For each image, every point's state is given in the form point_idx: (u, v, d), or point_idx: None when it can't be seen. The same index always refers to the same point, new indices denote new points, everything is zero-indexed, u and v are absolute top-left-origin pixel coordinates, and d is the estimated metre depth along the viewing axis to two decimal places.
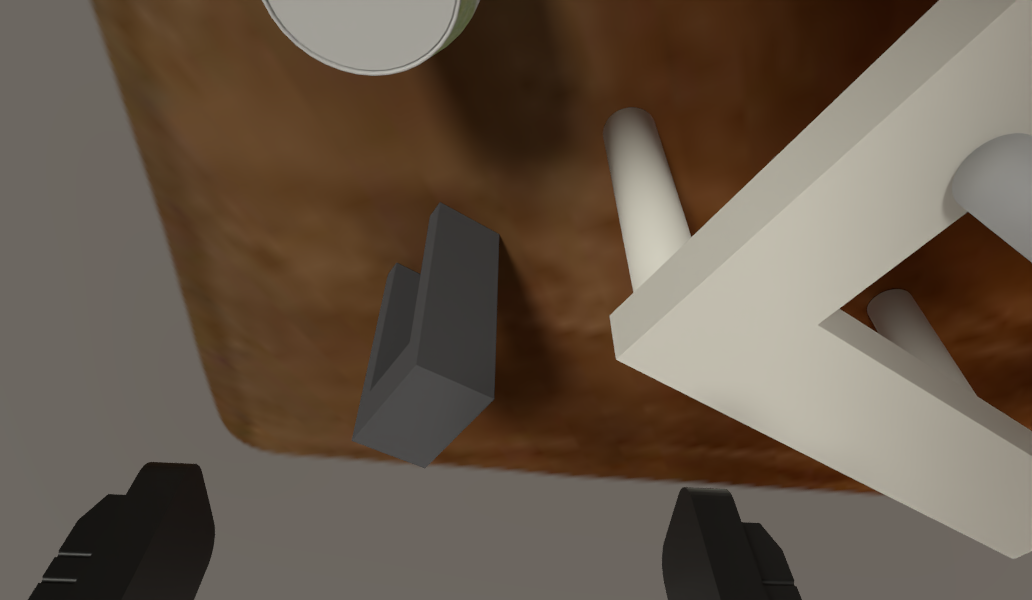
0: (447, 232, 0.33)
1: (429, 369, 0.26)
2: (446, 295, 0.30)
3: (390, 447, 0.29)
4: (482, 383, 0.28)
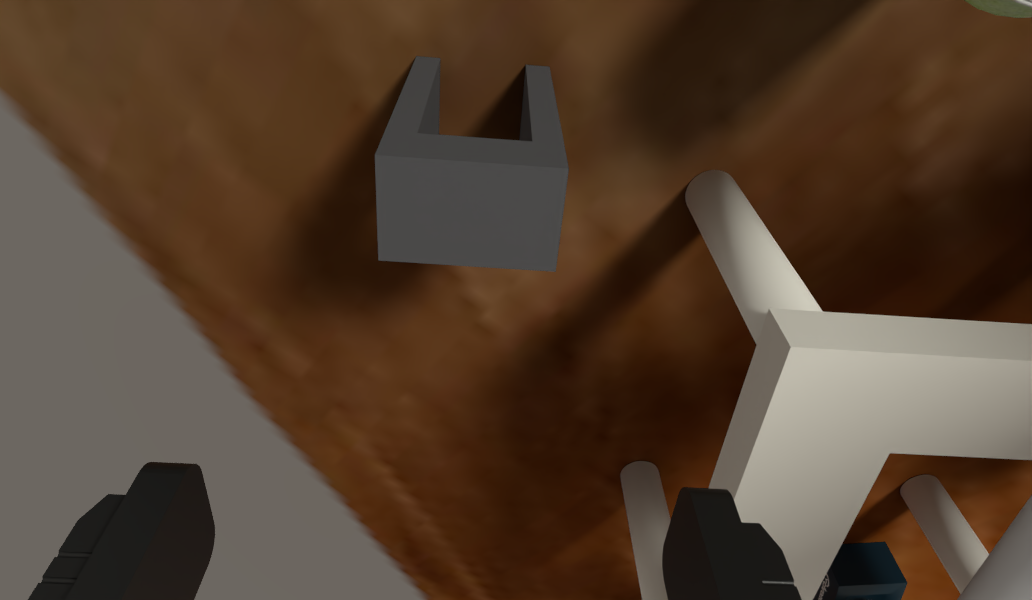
0: None
1: None
2: None
3: (392, 205, 0.21)
4: None
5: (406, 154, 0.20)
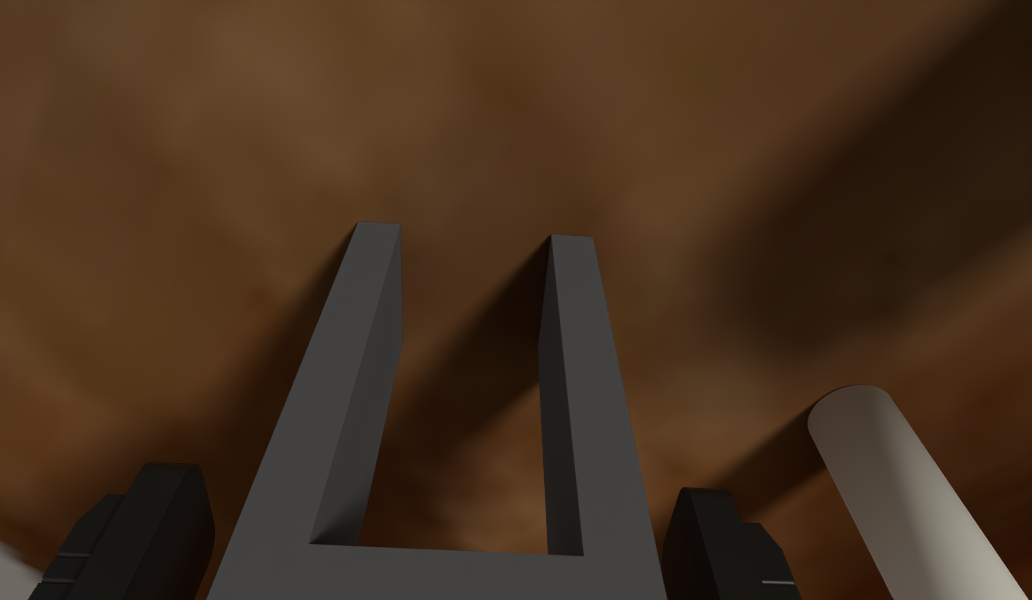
0: None
1: None
2: None
3: None
4: None
5: None
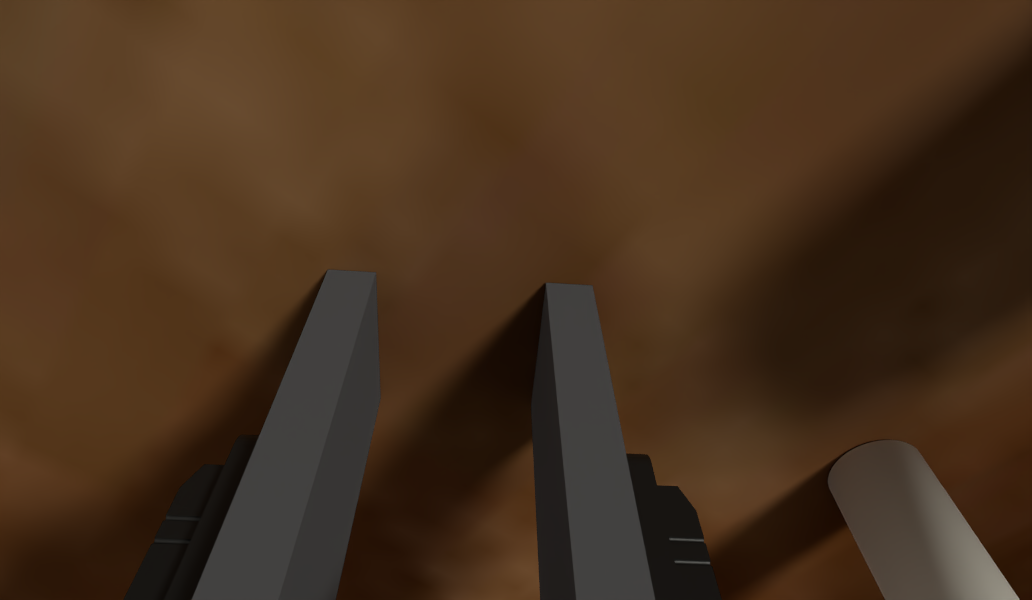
0: None
1: None
2: None
3: None
4: None
5: None
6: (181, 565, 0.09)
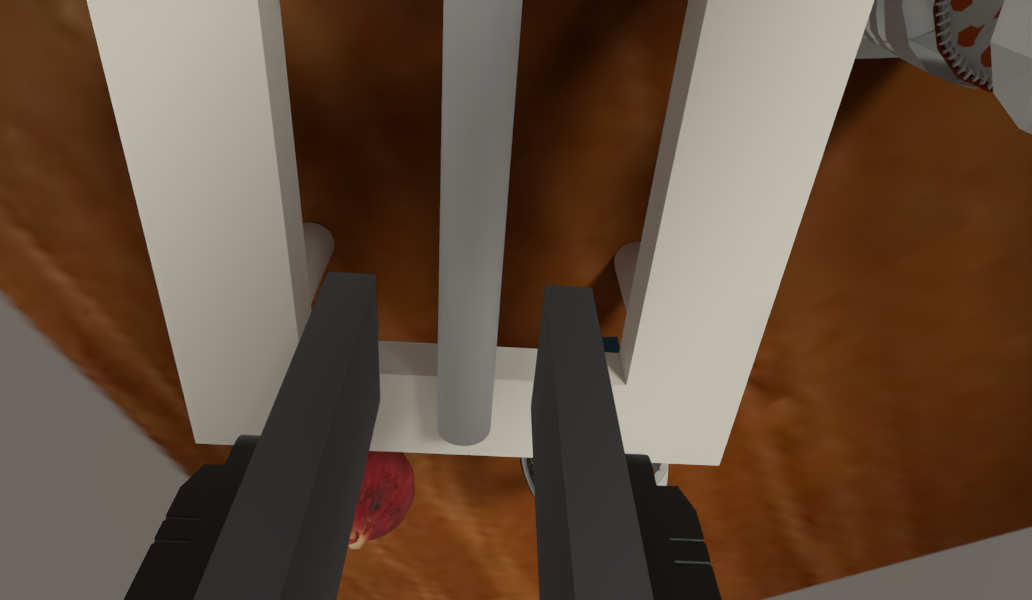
0: None
1: None
2: None
3: None
4: None
5: None
6: (181, 565, 0.09)
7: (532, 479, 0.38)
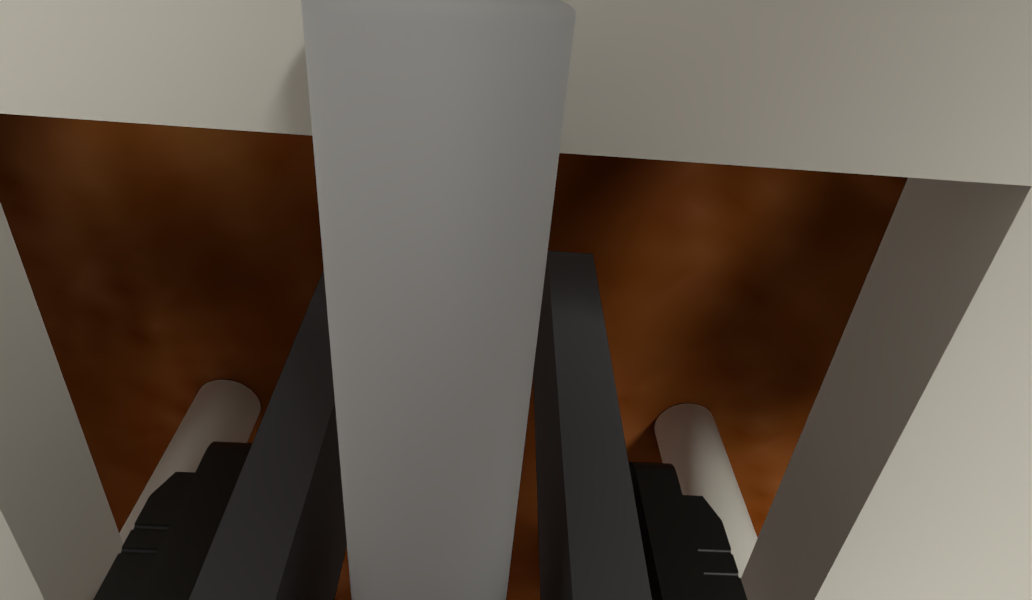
0: None
1: None
2: None
3: None
4: None
5: None
6: (146, 576, 0.09)
7: None
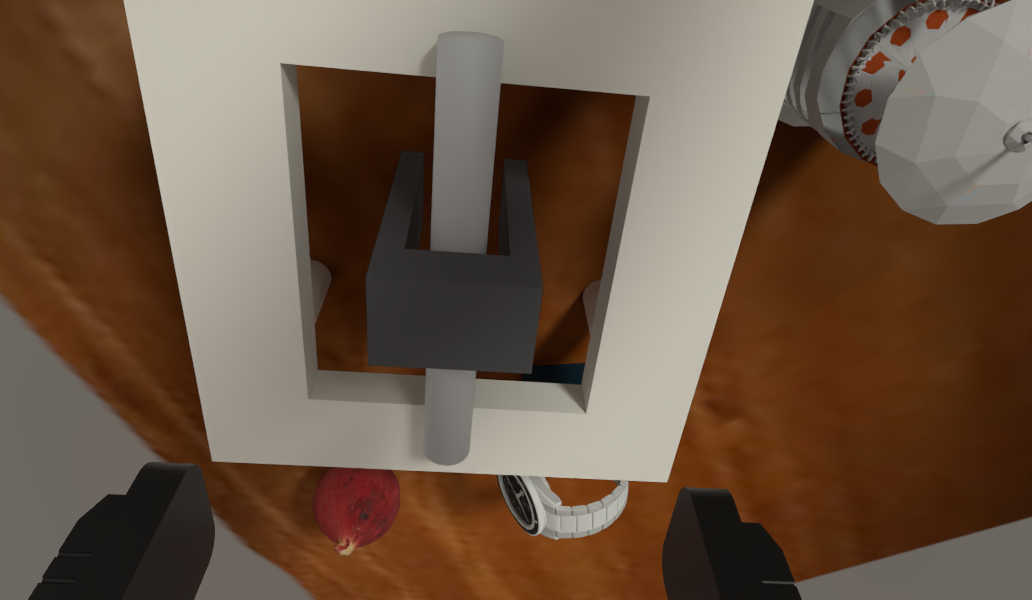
0: None
1: (540, 302, 0.23)
2: None
3: (381, 318, 0.23)
4: None
5: (394, 275, 0.22)
6: None
7: (507, 492, 0.42)
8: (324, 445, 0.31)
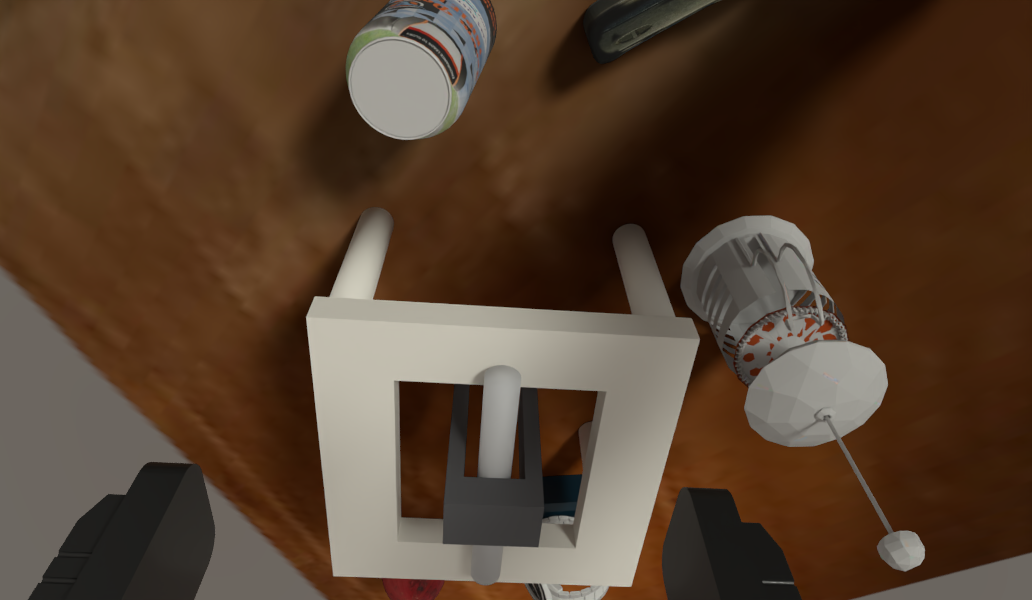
0: None
1: None
2: None
3: (451, 522, 0.39)
4: None
5: (459, 501, 0.39)
6: None
7: None
8: (406, 566, 0.48)
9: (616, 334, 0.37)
